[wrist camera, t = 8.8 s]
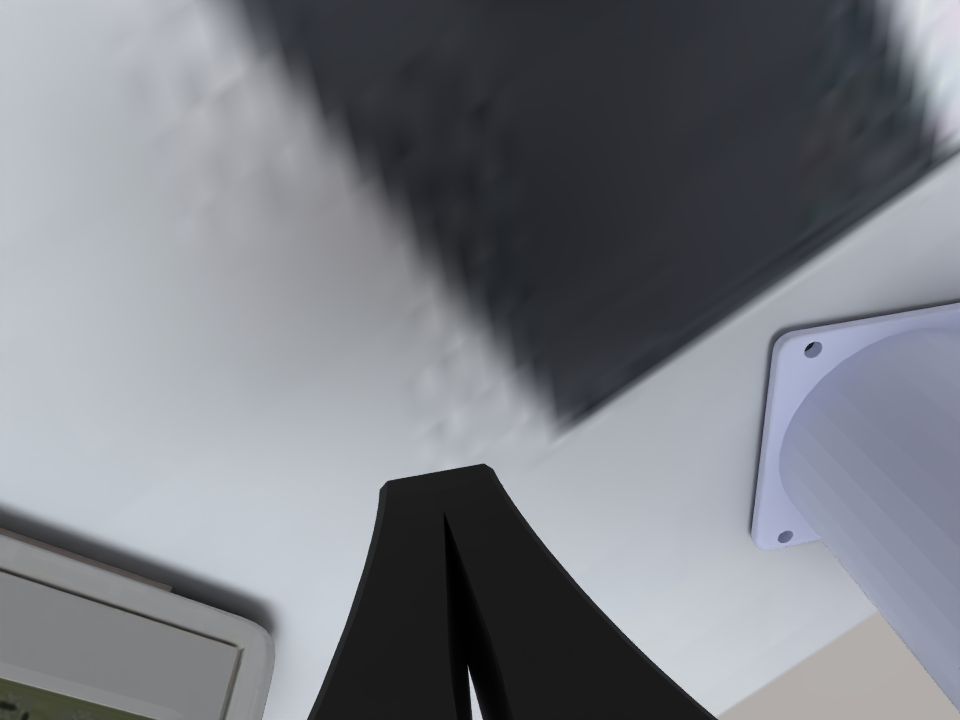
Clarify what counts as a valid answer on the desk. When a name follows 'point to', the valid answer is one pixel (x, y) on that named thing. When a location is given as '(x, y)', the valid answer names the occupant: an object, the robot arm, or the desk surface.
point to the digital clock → (118, 644)
